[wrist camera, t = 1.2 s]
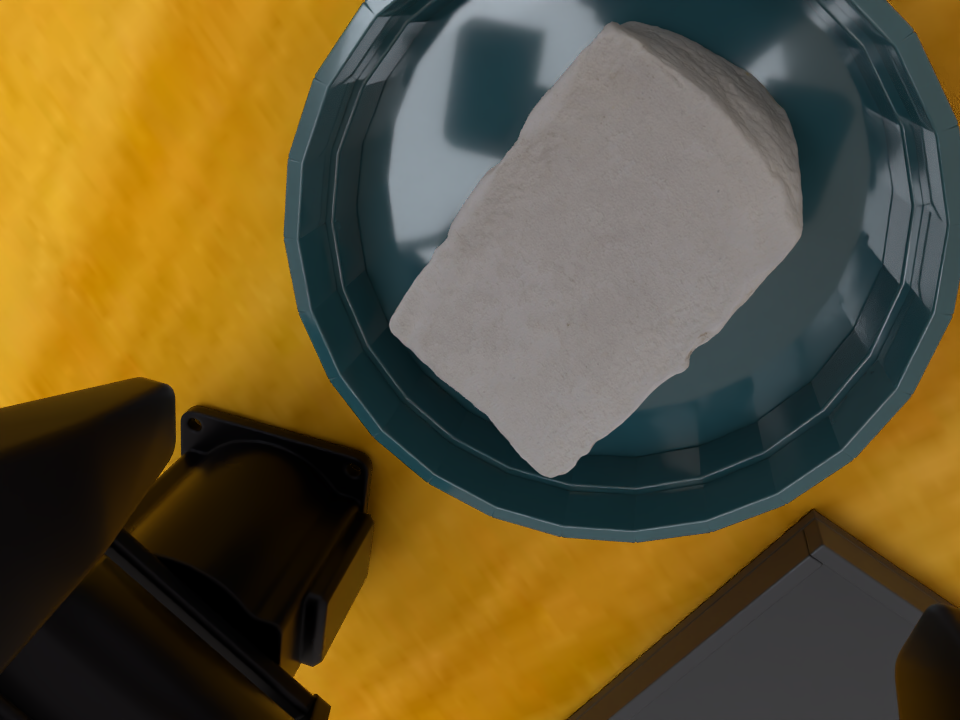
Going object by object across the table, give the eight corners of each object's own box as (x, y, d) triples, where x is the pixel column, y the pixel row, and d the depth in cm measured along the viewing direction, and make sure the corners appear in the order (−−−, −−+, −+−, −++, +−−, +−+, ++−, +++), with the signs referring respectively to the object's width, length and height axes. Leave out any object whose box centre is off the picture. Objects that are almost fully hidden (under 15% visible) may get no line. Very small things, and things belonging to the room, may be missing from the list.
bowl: (323, 395, 24) (270, 454, 21) (370, -146, 17) (304, -177, 14) (786, 522, 22) (804, 608, 19) (1038, -25, 15) (1131, -31, 12)
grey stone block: (656, 47, 20) (652, -69, 15) (842, 201, 19) (915, 140, 14) (415, 322, 22) (328, 313, 16) (573, 476, 21) (539, 523, 15)
